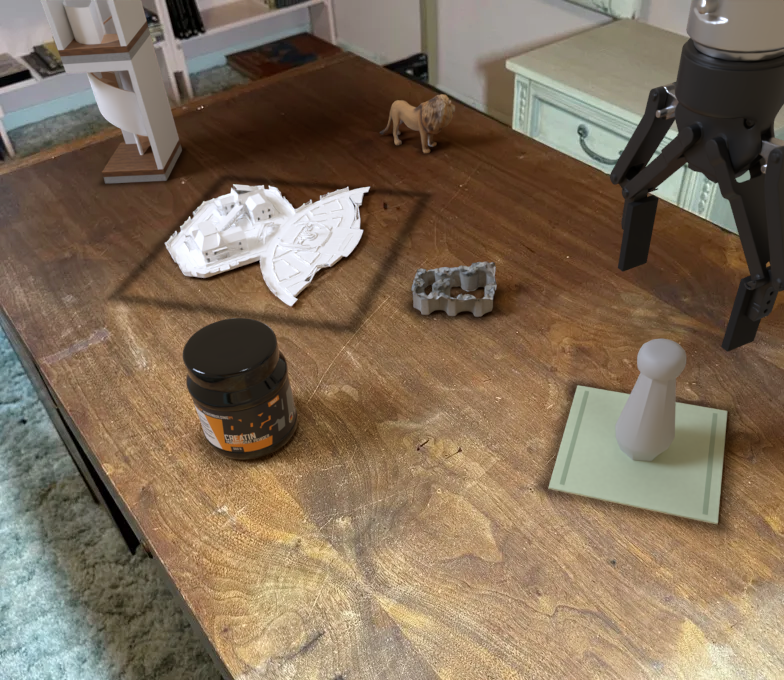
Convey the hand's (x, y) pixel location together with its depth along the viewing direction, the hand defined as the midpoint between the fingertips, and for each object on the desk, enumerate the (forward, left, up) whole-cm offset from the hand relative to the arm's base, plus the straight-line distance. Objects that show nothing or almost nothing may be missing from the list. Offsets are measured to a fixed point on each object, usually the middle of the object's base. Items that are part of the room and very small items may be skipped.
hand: (681, 302), depth 67 cm
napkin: (+1, 0, -18) cm, 18 cm away
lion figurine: (-12, -77, -18) cm, 80 cm away
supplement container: (+36, -23, -18) cm, 46 cm away
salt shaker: (+1, 0, -18) cm, 18 cm away
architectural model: (+20, -59, -18) cm, 65 cm away
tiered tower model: (+32, -96, -18) cm, 102 cm away
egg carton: (+5, -33, -18) cm, 38 cm away
